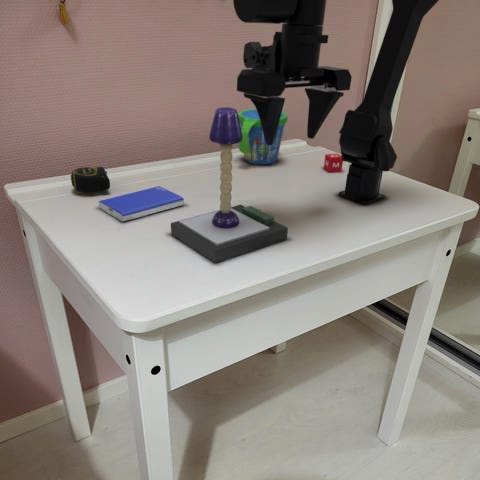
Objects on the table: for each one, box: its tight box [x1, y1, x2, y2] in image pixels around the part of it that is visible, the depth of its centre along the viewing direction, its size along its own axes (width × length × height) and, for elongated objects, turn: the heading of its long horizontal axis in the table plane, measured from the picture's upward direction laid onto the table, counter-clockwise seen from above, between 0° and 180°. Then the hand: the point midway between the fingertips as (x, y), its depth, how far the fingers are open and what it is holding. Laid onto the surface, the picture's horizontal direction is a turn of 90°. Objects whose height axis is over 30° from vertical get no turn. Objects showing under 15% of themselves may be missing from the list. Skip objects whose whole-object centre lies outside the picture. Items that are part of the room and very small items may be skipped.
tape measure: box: [70, 166, 111, 194], centre depth 92 cm, size 7×7×4 cm
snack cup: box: [238, 108, 288, 166], centre depth 109 cm, size 16×10×10 cm
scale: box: [170, 204, 289, 264], centre depth 77 cm, size 14×12×3 cm
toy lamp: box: [209, 106, 242, 228], centre depth 71 cm, size 5×5×17 cm
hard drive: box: [98, 185, 185, 222], centre depth 87 cm, size 2×8×12 cm
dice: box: [323, 153, 344, 173], centre depth 107 cm, size 3×3×3 cm
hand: (290, 141), depth 76 cm, fingers open, 9 cm apart
